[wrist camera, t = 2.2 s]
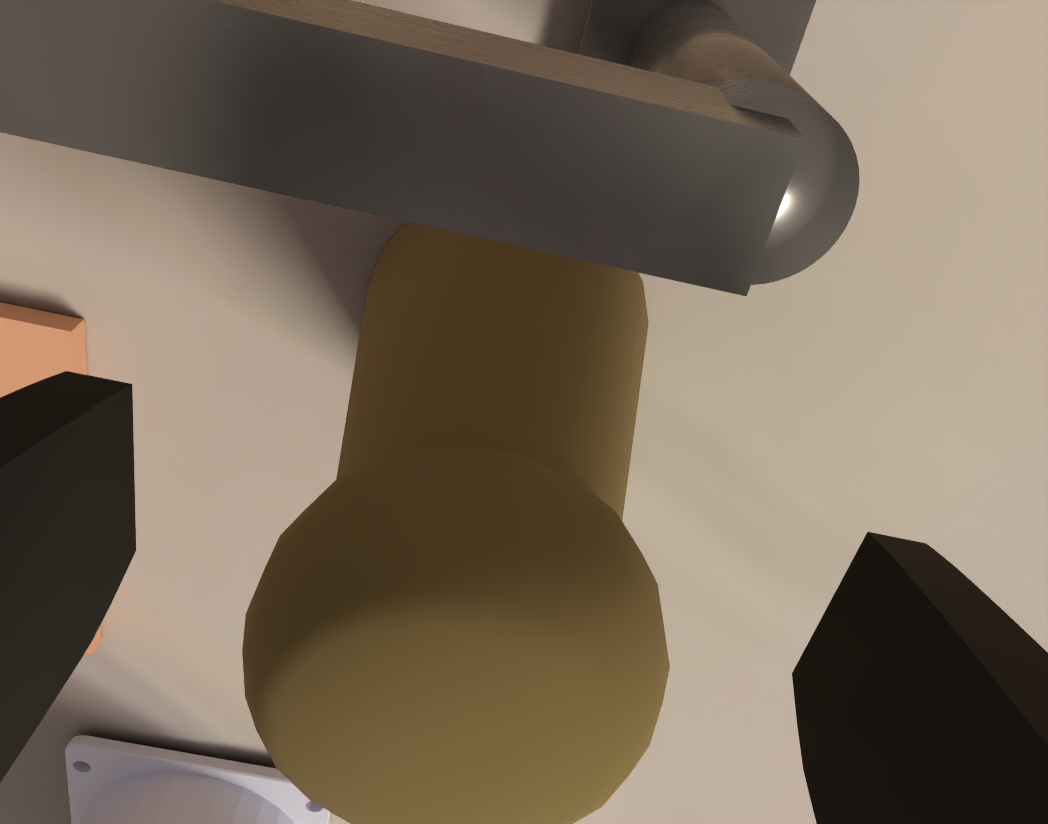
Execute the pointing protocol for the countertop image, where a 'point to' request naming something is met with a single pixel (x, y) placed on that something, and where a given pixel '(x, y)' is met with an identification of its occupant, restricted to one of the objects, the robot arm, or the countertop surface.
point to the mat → (39, 354)
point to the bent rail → (465, 120)
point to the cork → (469, 553)
